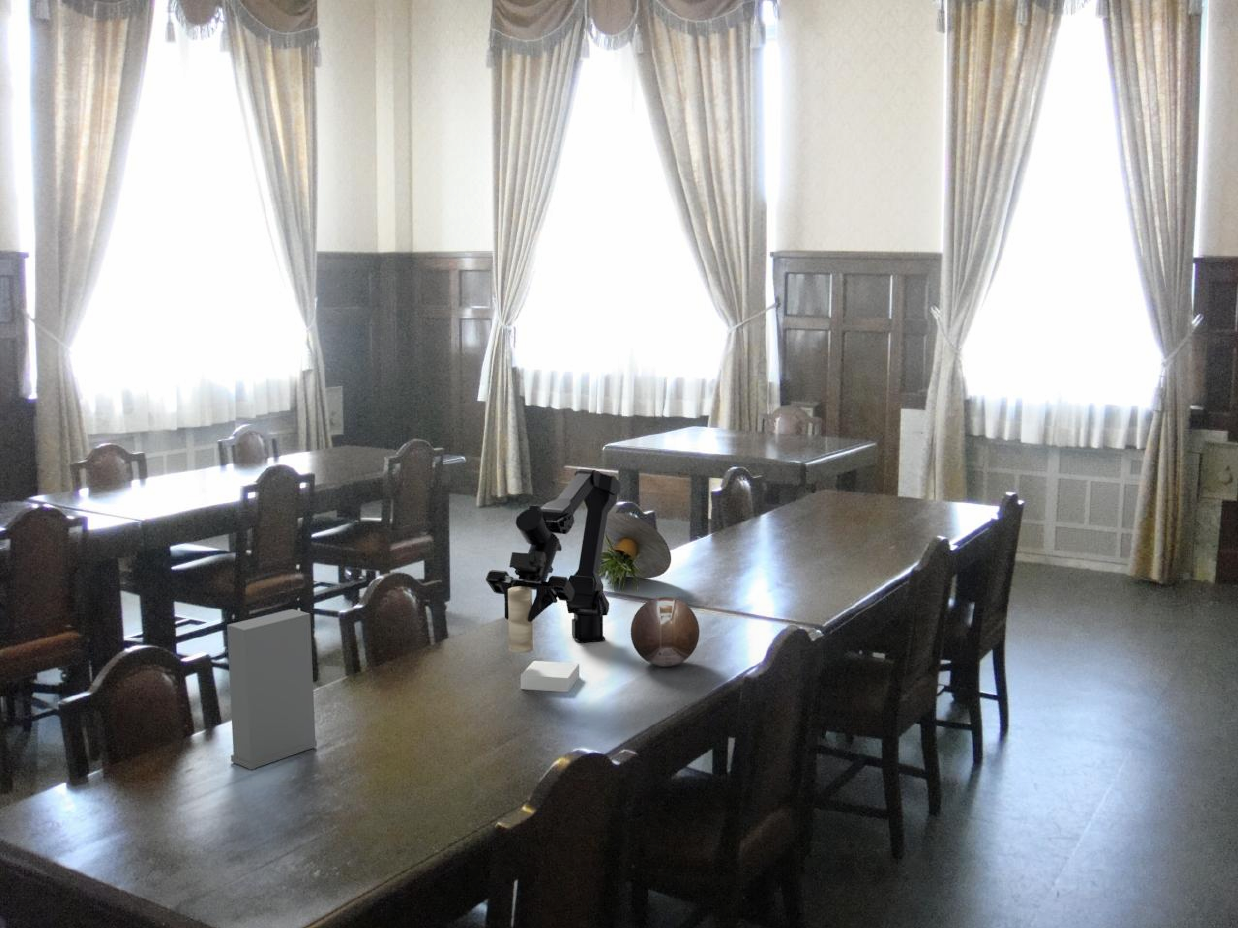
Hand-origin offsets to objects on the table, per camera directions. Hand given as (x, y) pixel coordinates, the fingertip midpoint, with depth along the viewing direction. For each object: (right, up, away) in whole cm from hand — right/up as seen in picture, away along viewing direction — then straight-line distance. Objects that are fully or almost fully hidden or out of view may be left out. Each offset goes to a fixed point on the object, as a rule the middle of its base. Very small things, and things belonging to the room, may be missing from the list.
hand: (517, 619), depth 259 cm
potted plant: (+23, -1, +86) cm, 89 cm away
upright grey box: (-40, -20, -38) cm, 59 cm away
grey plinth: (+7, -13, +1) cm, 15 cm away
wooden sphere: (+31, -12, +13) cm, 36 cm away
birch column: (+1, -7, +2) cm, 7 cm away
